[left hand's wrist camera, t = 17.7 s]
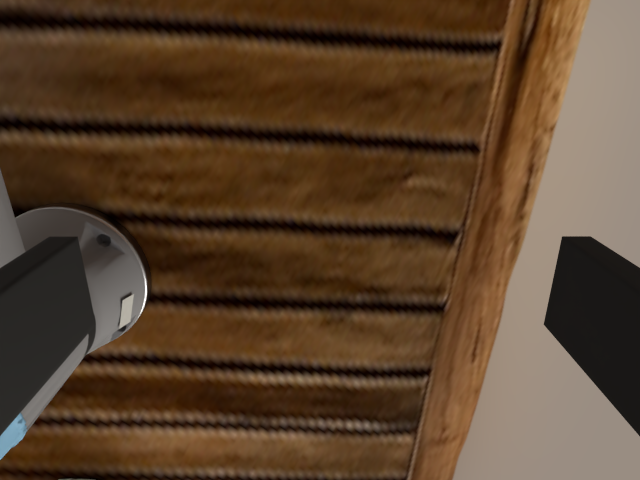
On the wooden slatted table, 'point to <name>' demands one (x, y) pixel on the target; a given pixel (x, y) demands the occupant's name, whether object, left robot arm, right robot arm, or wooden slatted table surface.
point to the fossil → (76, 479)
